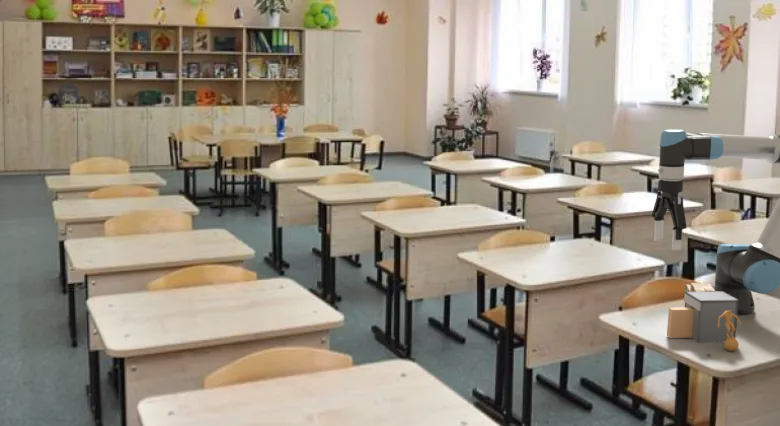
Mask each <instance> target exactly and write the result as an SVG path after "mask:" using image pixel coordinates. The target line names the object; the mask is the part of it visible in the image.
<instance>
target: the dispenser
mask: <svg viewBox="0 0 780 426" xmlns="http://www.w3.org/2000/svg"><path fill="white" fill-rule="evenodd" d="M683 299H684V300H683V302H684V307H693V308H695V310H694V322H693V334H692V338H691V339H692V340H693V341H695V342H696V343H697V344H698V343H699V344H700V343H703V344H704V343H724V342H725V340H726V339H728V337H727V332H726V331H727V328H726V326H725V322H726V320H725V317H724V316H723V317H722V318H720V323H719V325H720V326H719V327H720V328H718V317H719V316H721V315H722V314H723V313H724V311H729V310H731V311H732V313H733V314H735V315H736V316H737V317H738V316H739V315H738V304H739V300H738V299H736V298H734V297H732V296H730V295H729V294H727V293H725V292H723V291H698V292H686V293H684V298H683ZM731 322H733V325H734V327H735V331H734V332H733V333H732V334H733V337H734V338H735V339H736V335H737V324H738V323H737V322H738V320H737V318H736V317H734V316H732V319H731ZM731 330H733V329H732V328H731V327H730V331H729V333H728V334H729V337H730V338H732V336H731Z"/></svg>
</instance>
